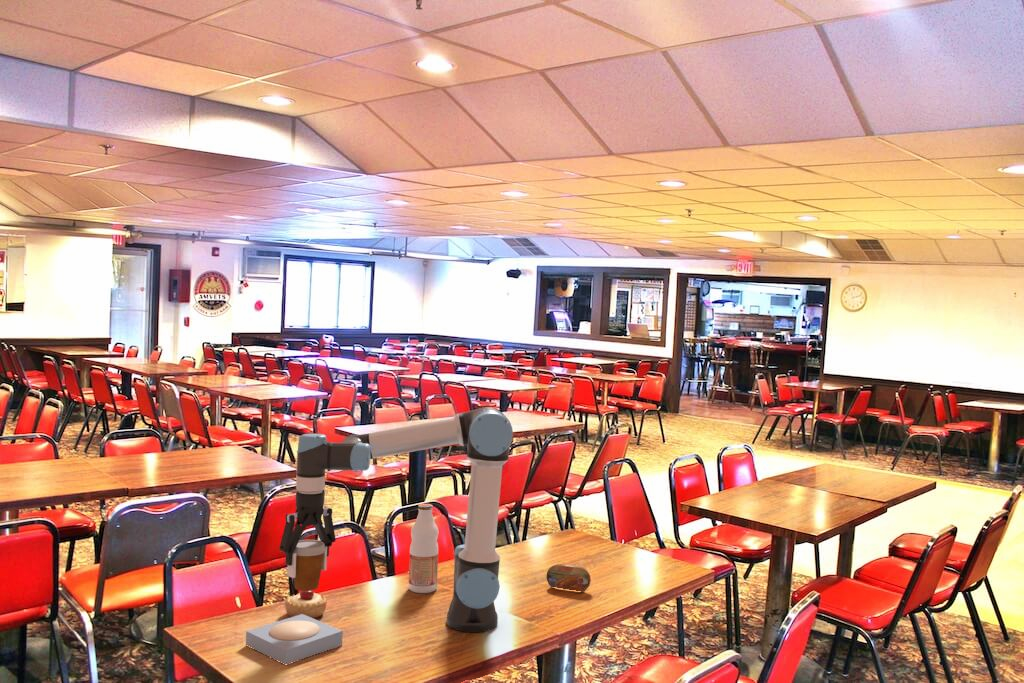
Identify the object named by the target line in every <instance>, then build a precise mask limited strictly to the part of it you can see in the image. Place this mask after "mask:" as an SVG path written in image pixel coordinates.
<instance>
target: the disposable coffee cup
mask: <svg viewBox="0 0 1024 683" xmlns="http://www.w3.org/2000/svg"><path fill="white" fill-rule="evenodd" d="M325 550H326V547H325V544H324V542H322V541H321V540H319V539H303V540H301V539H299V542H298V544H297V546H296V548H295V550H294V553H296V575H295V578H293V584H294V589H295V590H296V591H299V592H301V591H315V590H318V588H319V584H320V578H321V572H322V570H321V568H322V562H323V556H324V552H325Z"/></svg>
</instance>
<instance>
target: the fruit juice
mask: <svg viewBox="0 0 1024 683" xmlns="http://www.w3.org/2000/svg"><path fill="white" fill-rule="evenodd" d="M433 509H434V506H433V504H431V503H419V504H418V505H417V510H418V514H417V517H416V520H415V522H414V523H413V525H412V527H411V530H410V536H411V543H410V546H409V566H408V567H409V568H408V573H409V574H408V589H409V591H410V592H412V593H416V594H429V593H430V594H431V593H433V592H435V591H436V590H437V588H438V570H439V543H438V537H439V528H438V525H437V523H436V522H435V519H434V516H433Z"/></svg>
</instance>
